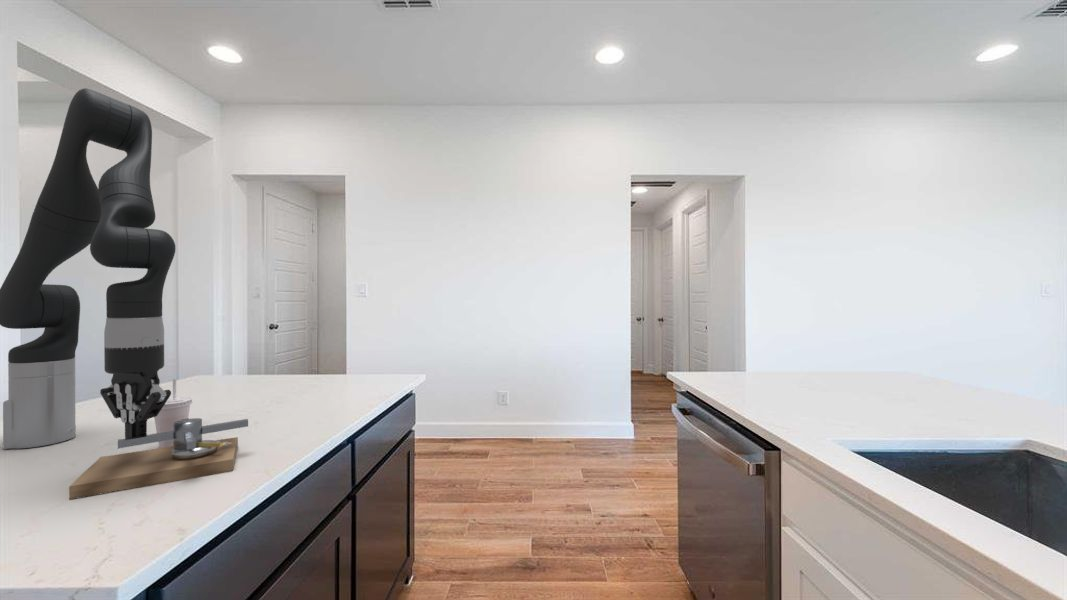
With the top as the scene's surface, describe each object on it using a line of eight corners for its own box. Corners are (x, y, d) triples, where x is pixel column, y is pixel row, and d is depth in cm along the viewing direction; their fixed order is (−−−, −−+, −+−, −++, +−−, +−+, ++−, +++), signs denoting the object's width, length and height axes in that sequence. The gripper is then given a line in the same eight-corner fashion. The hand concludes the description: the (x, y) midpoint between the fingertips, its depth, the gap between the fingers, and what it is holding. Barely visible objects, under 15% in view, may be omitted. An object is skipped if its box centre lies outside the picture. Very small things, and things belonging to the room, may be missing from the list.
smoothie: (173, 454, 82) (173, 382, 82) (141, 454, 82) (141, 382, 82) (200, 443, 88) (200, 376, 88) (170, 442, 88) (170, 376, 88)
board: (69, 499, 63) (69, 485, 63) (100, 468, 75) (100, 455, 75) (232, 470, 74) (232, 458, 74) (237, 446, 86) (237, 436, 86)
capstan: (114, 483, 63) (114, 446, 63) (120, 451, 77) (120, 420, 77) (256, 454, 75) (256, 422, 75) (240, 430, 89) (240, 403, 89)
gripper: (188, 342, 75) (188, 438, 75) (130, 339, 78) (131, 432, 78) (140, 347, 68) (141, 454, 68) (79, 344, 70) (80, 447, 71)
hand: (135, 442), depth 73 cm, fingers closed
